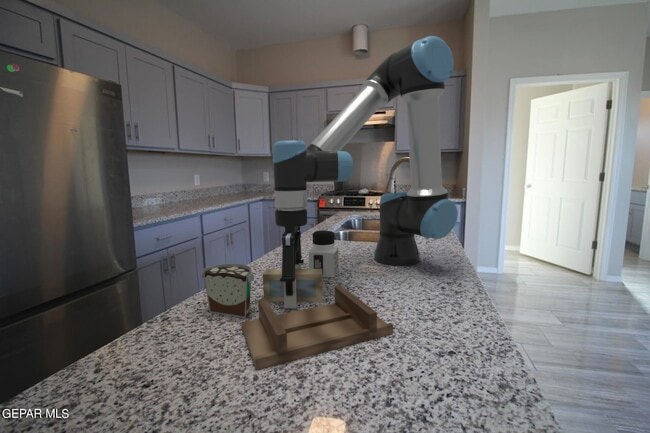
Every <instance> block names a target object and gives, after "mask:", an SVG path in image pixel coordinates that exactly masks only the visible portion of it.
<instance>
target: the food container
mask: <svg viewBox="0 0 650 433" xmlns="http://www.w3.org/2000/svg"><path fill="white" fill-rule="evenodd" d="M201 278H202V279H203V280H204V281H203V282H204V287H205V293H206V299H207V304H208V311H209V313H212V314H217V315H219V314H220V315H225V316H230V317H235V318H236V317H237V318H242V319H247V318H248V316H249V315H250V313H251V312H250V311H251V287H252V286H251V285H252V282H253V281H254V280H255V276H254V273H253V270H252V268H251V266H249V265H247V264H243V263H220V264H216V265H210V266H206V267H204V268H202V271H201Z"/></svg>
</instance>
